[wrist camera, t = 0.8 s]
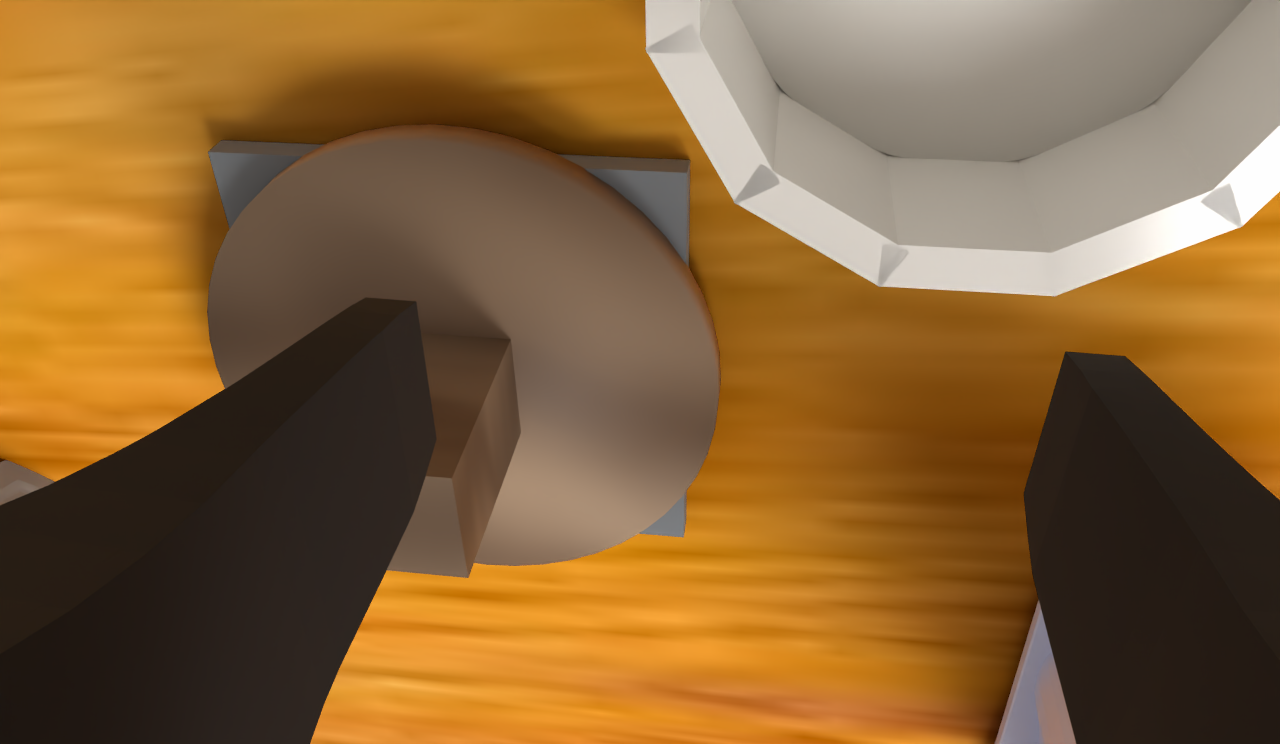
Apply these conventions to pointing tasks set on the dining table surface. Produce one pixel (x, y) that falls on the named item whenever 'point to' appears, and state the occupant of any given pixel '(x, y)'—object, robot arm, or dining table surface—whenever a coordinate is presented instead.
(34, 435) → the dining table surface
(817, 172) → the bowl
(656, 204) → the coaster
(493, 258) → the lid
